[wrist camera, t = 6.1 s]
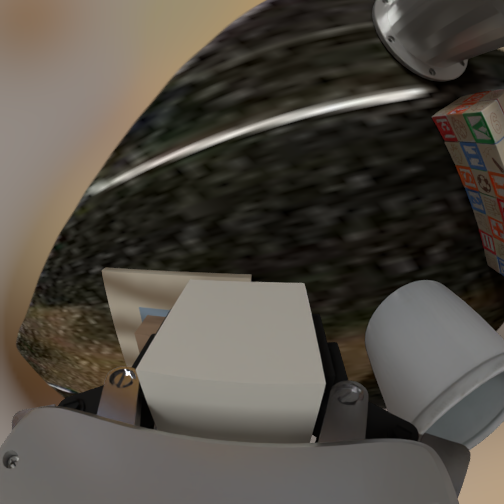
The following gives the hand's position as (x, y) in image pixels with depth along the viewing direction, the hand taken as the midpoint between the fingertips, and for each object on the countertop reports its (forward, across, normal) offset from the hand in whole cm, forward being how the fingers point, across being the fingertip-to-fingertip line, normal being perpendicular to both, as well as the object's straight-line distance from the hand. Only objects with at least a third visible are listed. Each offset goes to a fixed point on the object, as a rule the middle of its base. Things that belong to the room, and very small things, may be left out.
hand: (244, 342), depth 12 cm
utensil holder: (+18, -20, +12) cm, 29 cm away
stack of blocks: (+18, -27, -7) cm, 33 cm away
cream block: (+1, 0, 0) cm, 1 cm away
